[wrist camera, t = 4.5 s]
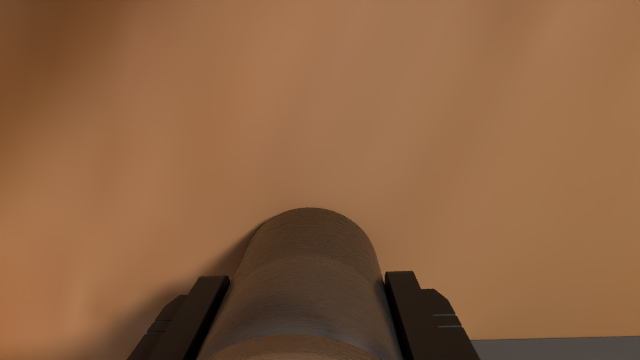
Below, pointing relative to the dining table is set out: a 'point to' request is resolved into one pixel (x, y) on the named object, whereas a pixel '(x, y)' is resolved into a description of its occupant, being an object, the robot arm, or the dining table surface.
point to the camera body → (560, 349)
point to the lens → (305, 295)
